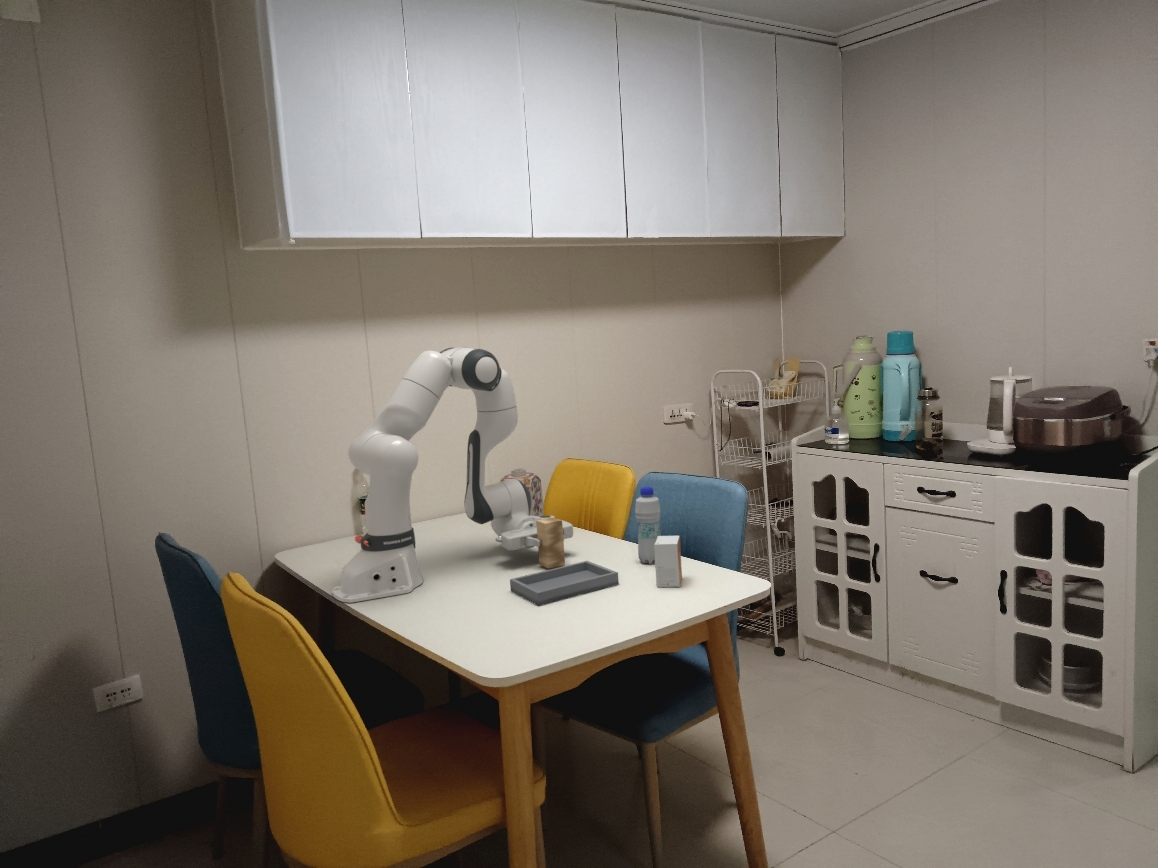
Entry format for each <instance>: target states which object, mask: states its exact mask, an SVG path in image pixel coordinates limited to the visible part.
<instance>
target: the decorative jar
mask: <svg viewBox="0 0 1158 868" xmlns="http://www.w3.org/2000/svg"><path fill="white" fill-rule="evenodd" d="M526 470H527V469H526V468H524V467H523V468H520V467H519V468H513V469H511V470H510V471H511V472H510V473H509V474H506V475H503V476H501V478H500V479H499V482H502V481H506V480H510V479H514V478H515V479H518V480H520V481H521V482H522V483H523V484H524V485H525V486H526V487H527V488H528V490H529V492H530V496H531V511H530V514H529V516H545V512H544V499H543V497H544V496H543V490H542V480H541V478H540V477H539V476H538V475H537V474H536V473H533V472H527V471H526Z"/></svg>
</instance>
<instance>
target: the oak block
mask: <svg viewBox="0 0 1158 868" xmlns="http://www.w3.org/2000/svg"><path fill="white" fill-rule="evenodd" d="M536 525H537V539H538V538H540V539H542V540H543V546H539V547H537V550H538V551H537V552H538V562H539V563H538V564H539V566H541V567H543V568H546V569H547V570H550V569H554V568H559V567H563V566H566V558H565V545H564V544H565V542H564V541H565V540H564V541H563V526H562V519H558V518H553V517H551V518H546V519H541V520H536Z"/></svg>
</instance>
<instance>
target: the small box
mask: <svg viewBox="0 0 1158 868" xmlns="http://www.w3.org/2000/svg"><path fill="white" fill-rule="evenodd" d="M654 552H655V560H654V567H655V569H654V570H655V580H656V581H655V582H656V587H657V588H677V587H679V588H680V587H681V583H682V580H683V572H682V571H683V570H682V569H683V567H682V554H681V552H682V551H681V536H680V535H661V536H657V540H656V542H655V544H654Z"/></svg>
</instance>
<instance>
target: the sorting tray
mask: <svg viewBox="0 0 1158 868" xmlns="http://www.w3.org/2000/svg"><path fill="white" fill-rule="evenodd" d="M509 584H510V585H509V586H510V592H511V591H512V593H513V592H514V593H513V594H515V593H516V594H515V595H517V594H518V595H517V596H519V597H520V598H523V599H525V600H526V599H527V600H526V601H528V600H529V601H528V602H530V601H531V603H532V602H533V603H532V604H534V603H535V605H537V606H538V607H540V606H544V605H547V603H548V604H550V602H551V603H554V602H559V601H564V600H566V599H570V598H574V597H577V596H581V595H584V594H588V593H593V592H596V591H599V590H603V589H604V590H605V589H607V588H611V587H615V586H619V572H618V571H615V570H612V569H610V568H608V567H605V566H602V565H599V564H597V563H594V562H593V561H589V560H585V561H579V562H577V563H576V562H575V563H572V564H571V563H570V564H568V565H567V564H566V565H563V566H558V567H554V568H550V569H547V570H543V571H538V572H534V573H530V574H525V575H522V576H518V577H517V576H516V577H514V578H513V577H512V578H510V579H509ZM543 604H544V605H543ZM539 605H540V606H539Z"/></svg>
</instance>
